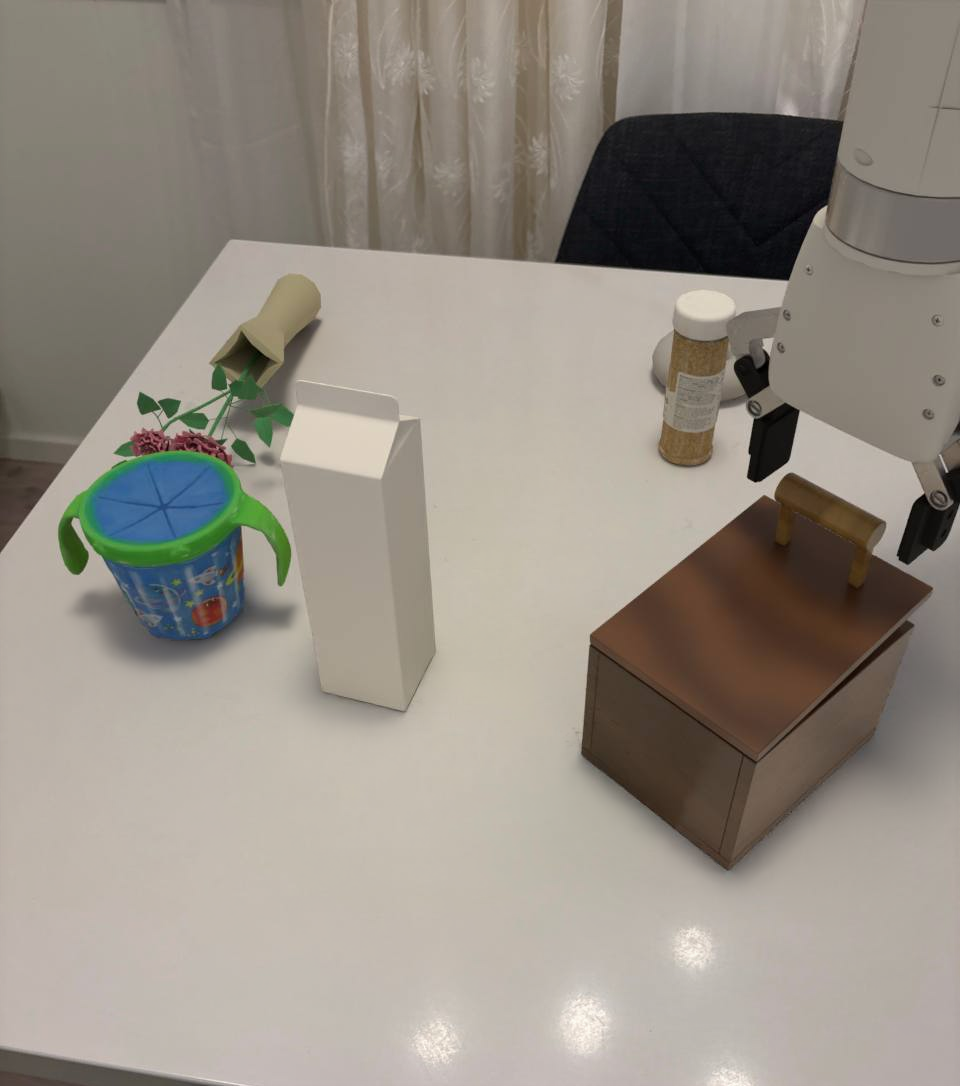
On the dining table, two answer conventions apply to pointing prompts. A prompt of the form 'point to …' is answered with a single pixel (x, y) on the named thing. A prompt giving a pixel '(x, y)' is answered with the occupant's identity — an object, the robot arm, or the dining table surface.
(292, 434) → the milk
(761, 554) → the lid
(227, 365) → the flower vase
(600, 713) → the chest
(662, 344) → the donut
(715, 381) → the sprinkles bottle
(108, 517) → the snack cup
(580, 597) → the dining table surface
